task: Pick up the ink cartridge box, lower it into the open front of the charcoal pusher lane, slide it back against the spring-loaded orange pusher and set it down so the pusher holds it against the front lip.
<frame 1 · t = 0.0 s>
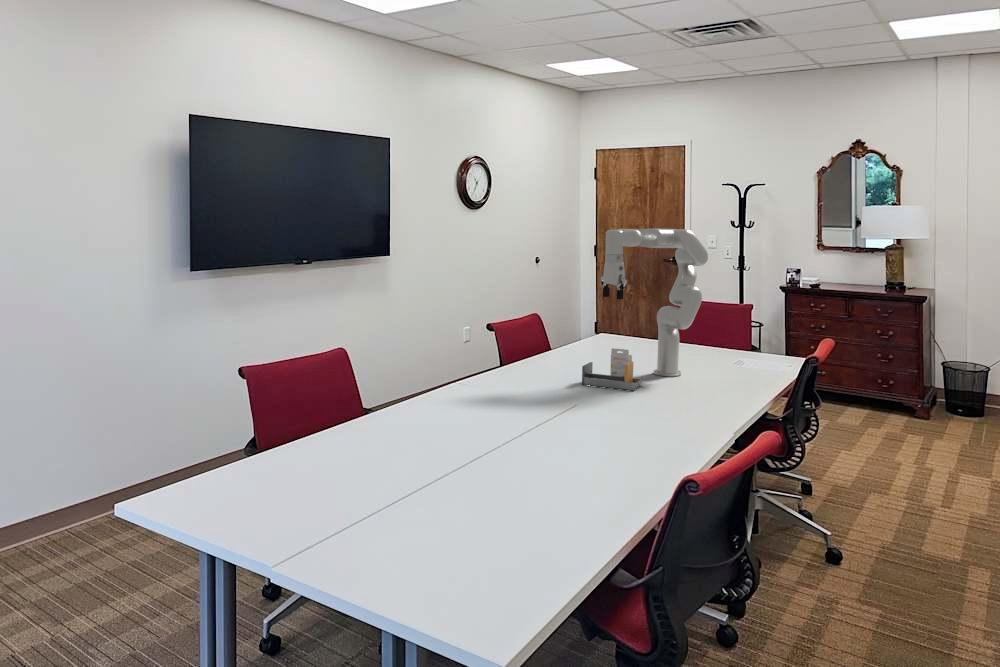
hand: (612, 297, 324), 37 cm above the table, tool pointing down, fingers open, 9 cm apart
pusher: (628, 374, 318), point 6 cm above the table, slide at 0.0 cm
ink cartridge box: (620, 381, 332), on the table
lane: (611, 385, 322), on the table
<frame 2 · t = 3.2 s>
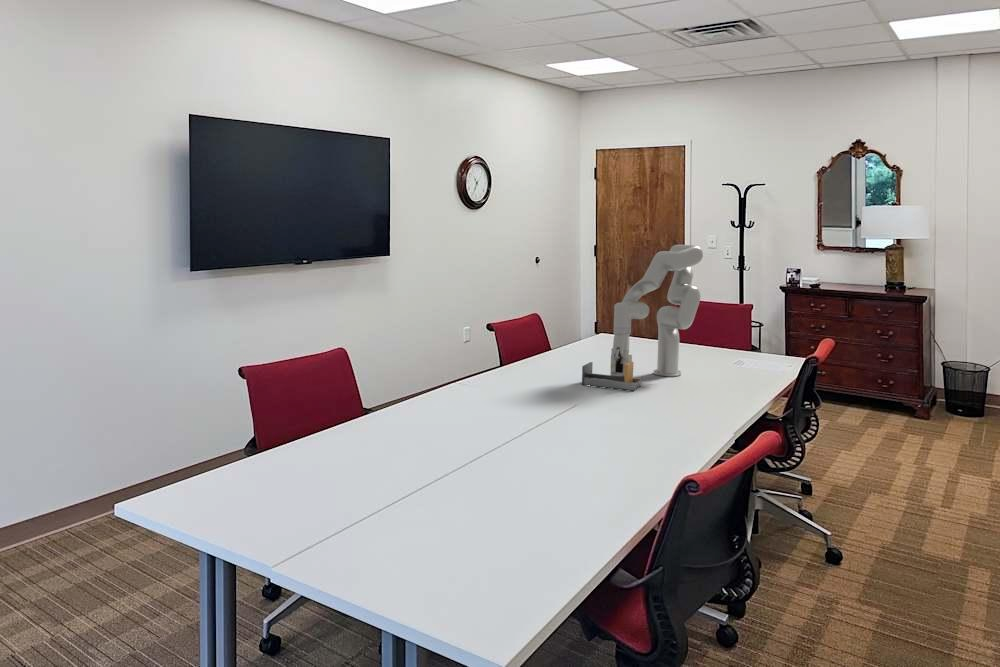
hand: (621, 370, 332), 4 cm above the table, tool pointing down, fingers closed on ink cartridge box, 5 cm apart
ink cartridge box: (620, 380, 332), on the table, touching gripper
everything else where it was.
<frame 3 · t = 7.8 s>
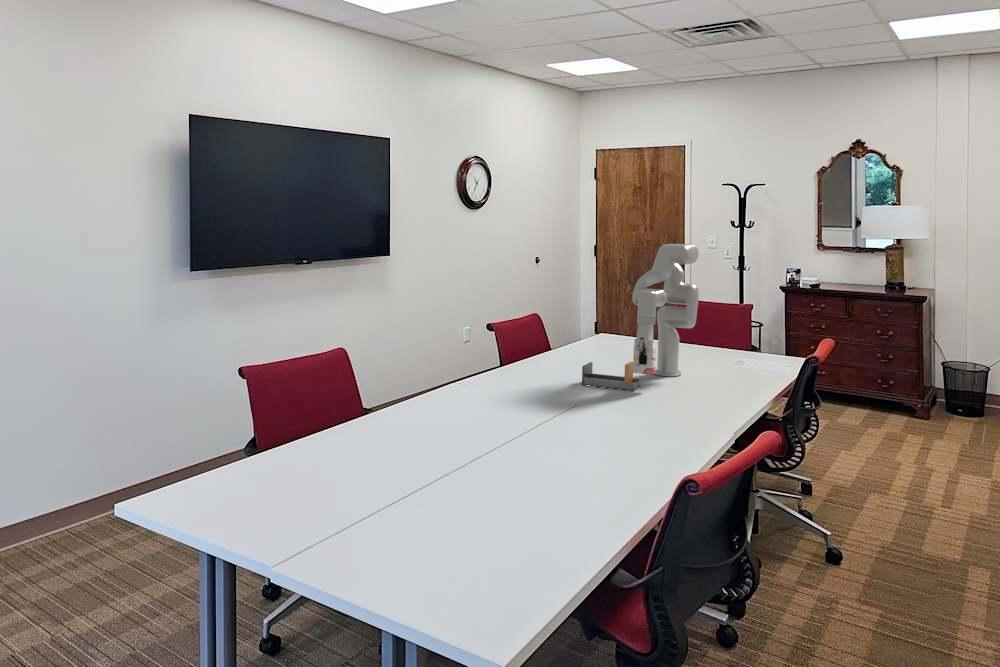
hand: (644, 362, 313), 12 cm above the table, tool pointing down, fingers closed on ink cartridge box, 5 cm apart
ink cartridge box: (644, 373, 314), point 7 cm above the table, touching gripper
everything else where it was.
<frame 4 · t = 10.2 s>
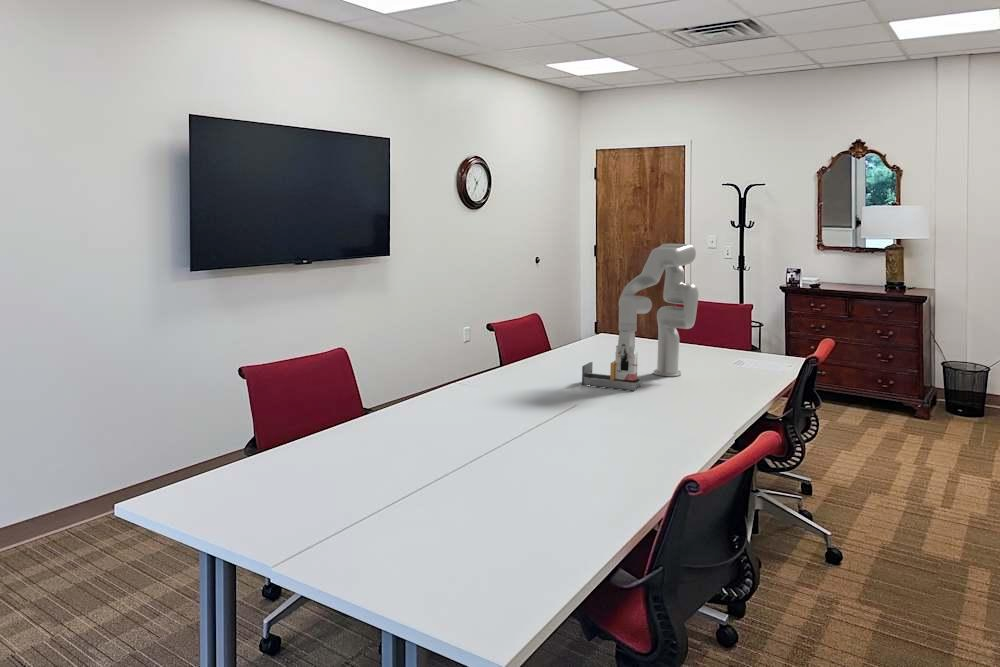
hand: (626, 368, 318), 8 cm above the table, tool pointing down, fingers closed on ink cartridge box, 5 cm apart
pusher: (614, 373, 320), point 6 cm above the table, slide at 6.3 cm, touching ink cartridge box
ink cartridge box: (626, 379, 319), point 4 cm above the table, touching gripper, pusher
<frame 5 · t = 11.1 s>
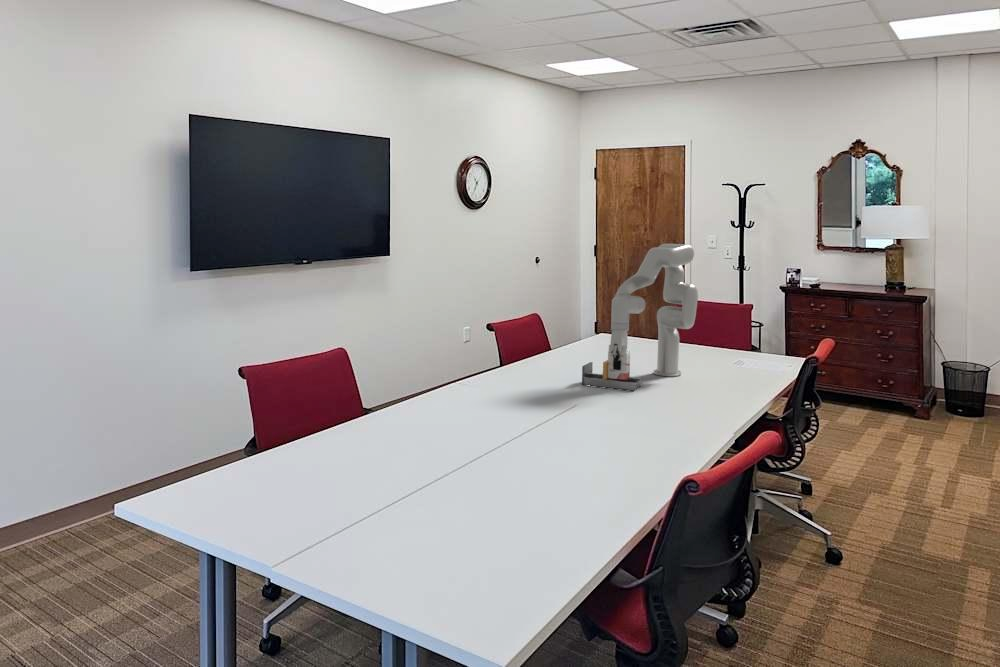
hand: (618, 367, 319), 8 cm above the table, tool pointing down, fingers closed on ink cartridge box, 5 cm apart
pusher: (607, 372, 322), point 6 cm above the table, slide at 9.6 cm, touching ink cartridge box
ink cartridge box: (618, 378, 320), point 4 cm above the table, touching gripper, pusher
when the fingers open (6 cm above the table, at t = 12.4 s): ink cartridge box stays where it is, resting on lane, pusher.
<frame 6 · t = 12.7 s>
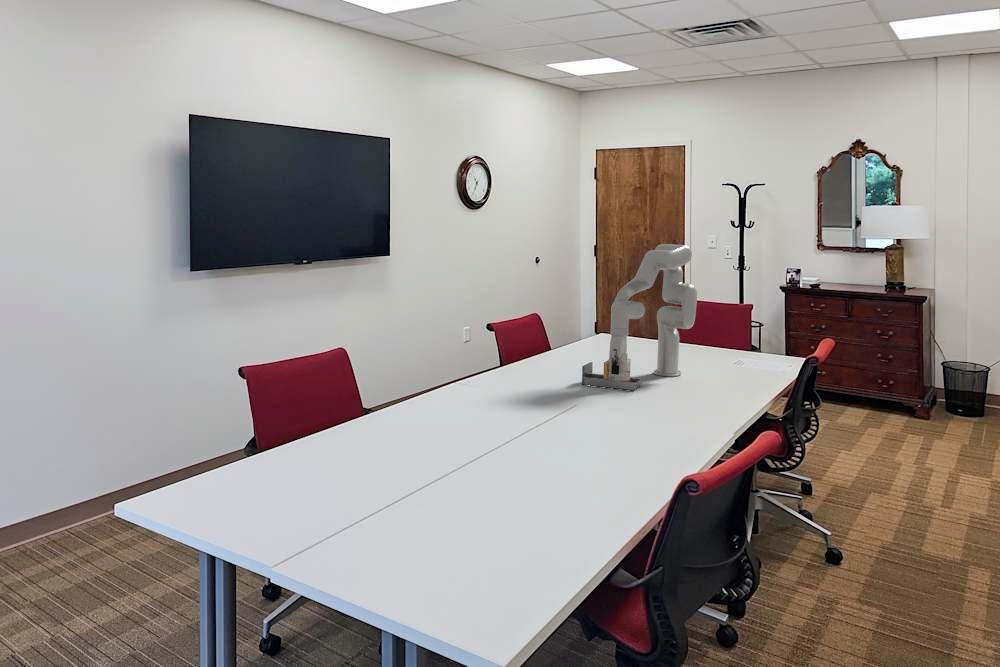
hand: (618, 372, 320), 6 cm above the table, tool pointing down, fingers open, 7 cm apart
ink cartridge box: (618, 385, 321), resting on lane, pusher
everything else where it was.
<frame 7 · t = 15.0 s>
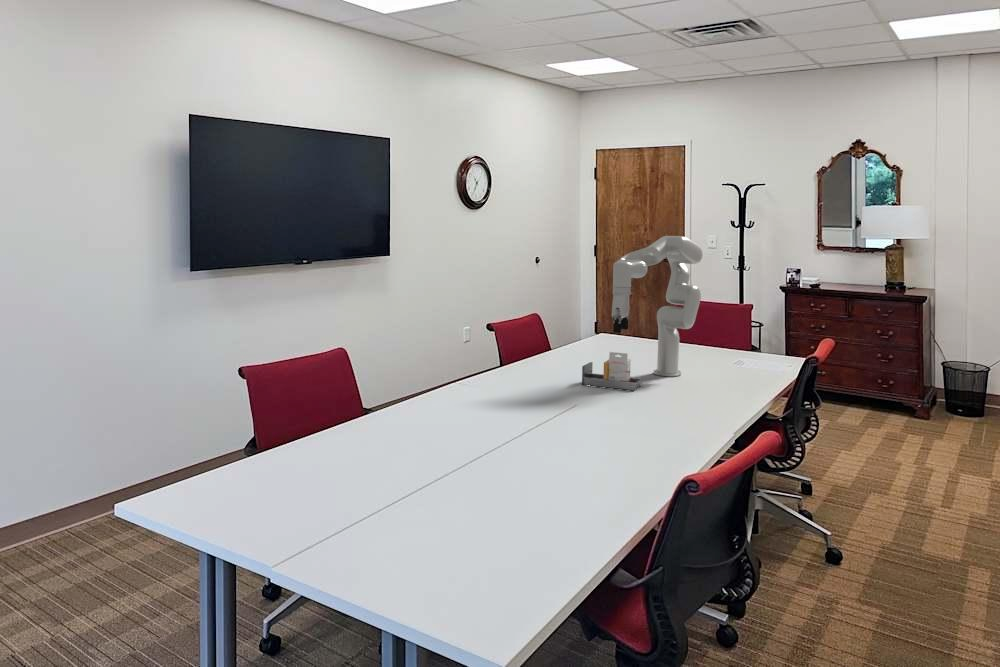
hand: (620, 330, 317), 24 cm above the table, tool pointing down, fingers open, 9 cm apart
nothing on the table moved.
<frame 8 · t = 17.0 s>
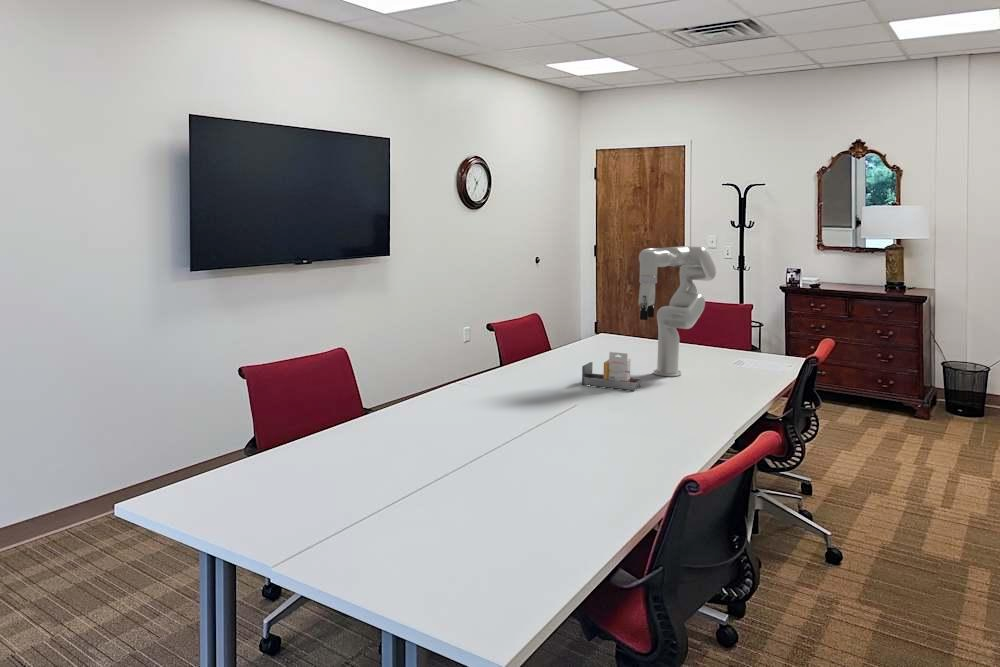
hand: (646, 318, 326), 28 cm above the table, tool pointing down, fingers open, 9 cm apart
nothing on the table moved.
at the end: ink cartridge box 0.5 cm from the target spot on the lane, point 0.3 cm above the lane's base; pusher slide at 9.3 cm; ink cartridge box tilted 0° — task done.
